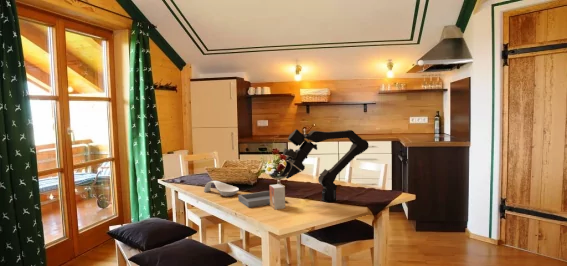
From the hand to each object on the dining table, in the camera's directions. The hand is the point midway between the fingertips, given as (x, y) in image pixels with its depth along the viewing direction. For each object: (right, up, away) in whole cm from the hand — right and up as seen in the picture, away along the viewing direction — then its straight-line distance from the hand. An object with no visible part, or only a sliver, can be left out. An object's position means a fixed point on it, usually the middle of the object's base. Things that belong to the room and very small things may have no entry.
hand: (284, 176), depth 189 cm
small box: (-4, -15, -3) cm, 16 cm away
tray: (-12, -14, +8) cm, 20 cm away
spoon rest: (-37, -14, +28) cm, 48 cm away
